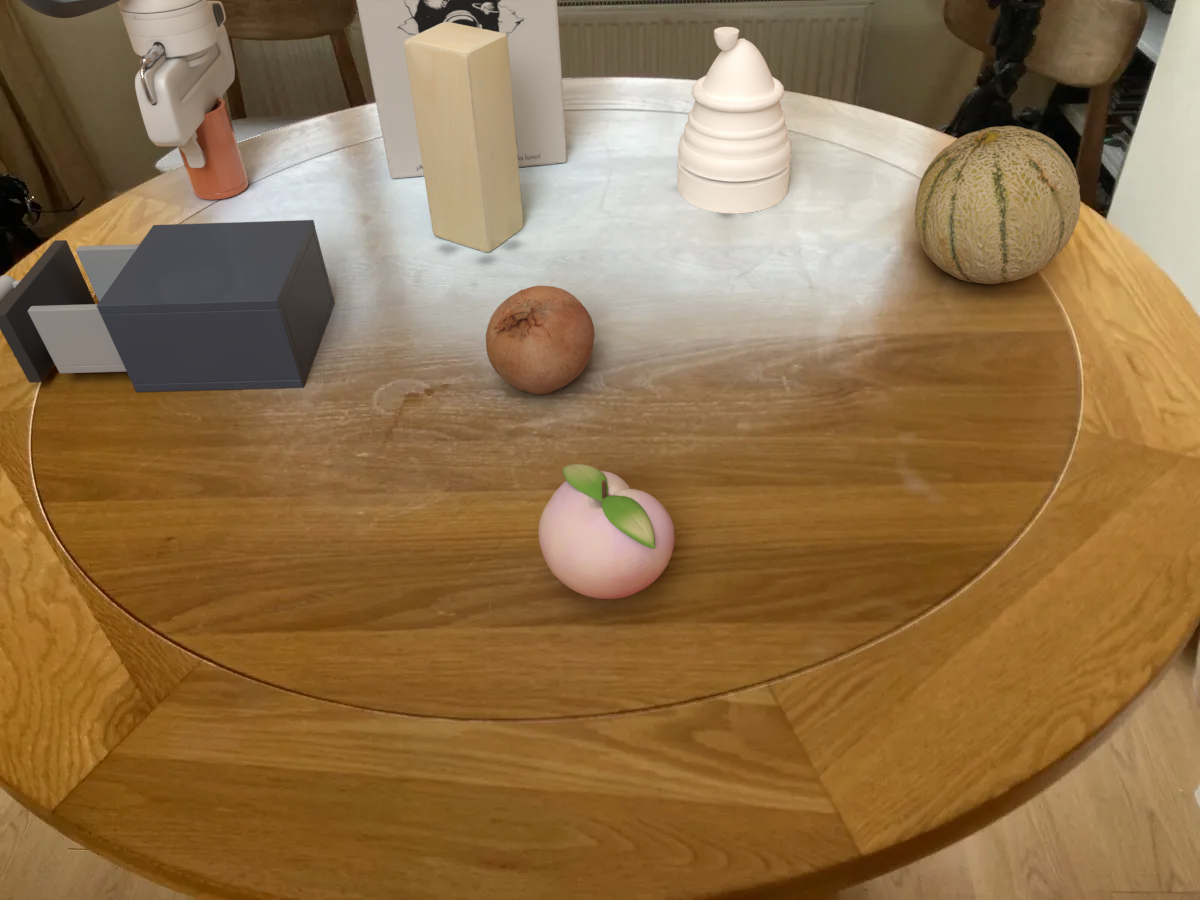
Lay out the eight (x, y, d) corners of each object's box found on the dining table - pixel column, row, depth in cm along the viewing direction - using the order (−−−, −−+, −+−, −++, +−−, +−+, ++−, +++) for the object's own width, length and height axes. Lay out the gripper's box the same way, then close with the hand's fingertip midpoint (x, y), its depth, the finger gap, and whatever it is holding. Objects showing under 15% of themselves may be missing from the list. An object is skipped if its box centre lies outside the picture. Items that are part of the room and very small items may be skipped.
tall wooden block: (530, 224, 107) (511, 30, 93) (490, 254, 103) (464, 54, 89) (473, 208, 110) (448, 18, 96) (432, 236, 106) (399, 41, 92)
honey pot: (719, 224, 106) (727, 58, 94) (656, 180, 114) (656, 22, 102) (810, 193, 110) (830, 31, 98) (743, 153, 119) (754, -1, 107)
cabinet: (135, 392, 87) (96, 305, 80) (185, 307, 97) (153, 224, 91) (303, 387, 86) (276, 300, 80) (335, 303, 97) (313, 219, 90)
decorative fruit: (517, 586, 68) (503, 485, 61) (594, 522, 73) (589, 421, 66) (617, 657, 63) (613, 556, 57) (693, 584, 68) (698, 482, 61)
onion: (532, 431, 85) (491, 378, 77) (493, 354, 90) (450, 296, 81) (625, 378, 85) (594, 319, 76) (581, 303, 90) (548, 240, 81)
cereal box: (561, 137, 124) (547, -77, 107) (567, 163, 118) (553, -59, 101) (392, 153, 122) (351, -63, 105) (390, 180, 117) (347, -44, 100)
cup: (182, 191, 116) (154, 110, 109) (225, 171, 120) (200, 91, 113) (217, 204, 113) (190, 122, 106) (259, 183, 117) (236, 102, 110)
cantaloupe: (1088, 293, 93) (1141, 146, 83) (960, 327, 90) (999, 177, 80) (992, 224, 104) (1029, 86, 94) (874, 252, 100) (899, 111, 90)
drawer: (-21, 384, 87) (-62, 316, 82) (39, 307, 96) (6, 241, 91) (182, 378, 86) (154, 309, 81) (224, 301, 96) (200, 235, 91)
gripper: (167, 62, 96) (209, 190, 105) (227, -2, 111) (259, 115, 121) (105, 64, 96) (152, 192, 105) (173, 0, 112) (209, 116, 121)
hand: (209, 150), depth 113 cm, fingers closed on cup, 6 cm apart
